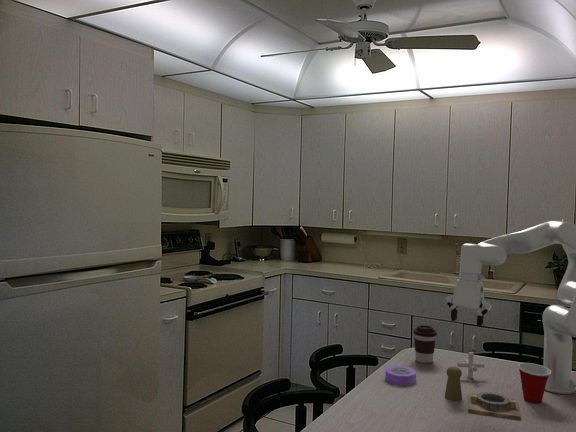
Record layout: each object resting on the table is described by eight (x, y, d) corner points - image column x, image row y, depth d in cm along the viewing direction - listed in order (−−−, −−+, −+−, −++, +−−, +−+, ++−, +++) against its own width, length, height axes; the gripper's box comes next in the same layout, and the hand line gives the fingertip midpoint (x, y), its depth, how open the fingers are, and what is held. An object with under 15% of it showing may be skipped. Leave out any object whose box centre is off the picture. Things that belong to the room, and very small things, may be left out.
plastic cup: (536, 409, 177) (537, 374, 176) (509, 397, 186) (511, 365, 186) (557, 403, 182) (558, 370, 181) (530, 393, 191) (531, 361, 191)
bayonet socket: (515, 401, 183) (516, 393, 183) (520, 419, 168) (520, 410, 168) (467, 395, 188) (468, 386, 188) (468, 412, 173) (468, 403, 173)
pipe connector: (487, 382, 202) (488, 357, 201) (461, 381, 202) (462, 356, 202) (478, 373, 212) (479, 349, 211) (454, 372, 212) (454, 348, 212)
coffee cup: (413, 363, 223) (414, 329, 222) (411, 356, 233) (412, 323, 232) (437, 365, 221) (438, 330, 221) (434, 358, 231) (435, 324, 231)
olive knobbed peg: (462, 396, 187) (463, 366, 187) (462, 402, 181) (463, 371, 181) (444, 393, 189) (445, 364, 189) (444, 399, 183) (445, 369, 183)
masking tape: (410, 387, 195) (411, 377, 195) (381, 381, 201) (381, 372, 201) (419, 378, 205) (419, 369, 205) (391, 373, 211) (391, 363, 211)
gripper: (497, 280, 187) (493, 327, 188) (452, 273, 199) (449, 317, 200) (488, 281, 182) (485, 329, 182) (443, 274, 193) (439, 319, 194)
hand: (466, 323), depth 191 cm, fingers open, 9 cm apart
